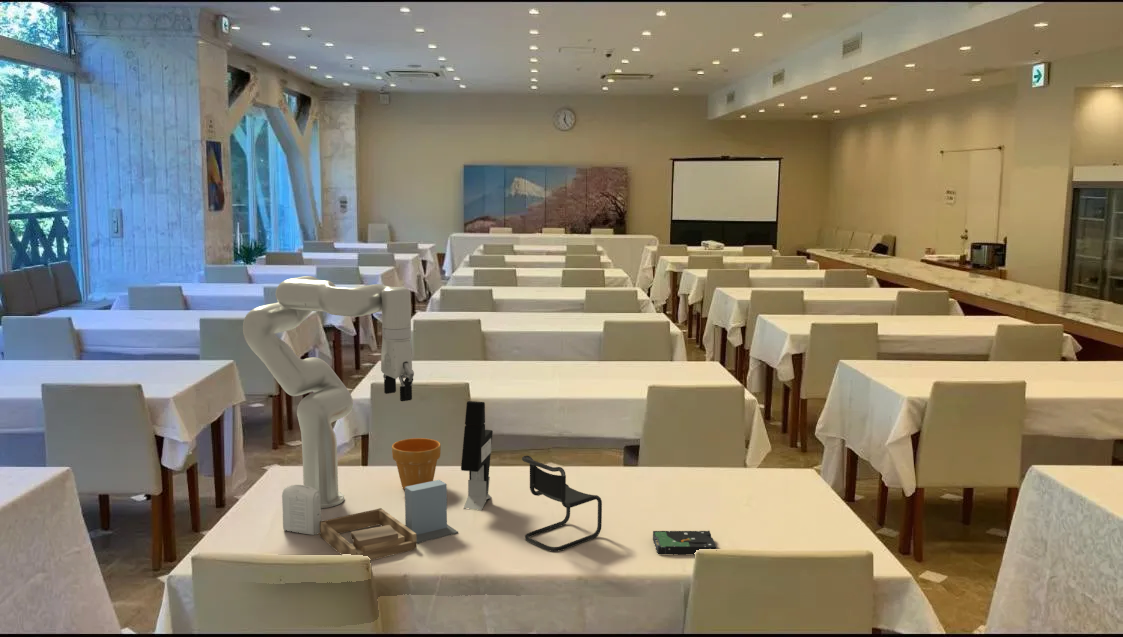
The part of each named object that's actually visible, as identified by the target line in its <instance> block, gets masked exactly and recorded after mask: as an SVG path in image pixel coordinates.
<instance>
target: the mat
mask: <svg viewBox="0 0 1123 637" xmlns="http://www.w3.org/2000/svg"><path fill="white" fill-rule="evenodd" d="M404 525H405V526H406V524H404ZM457 534H459V531H458V530H456V529H455V528H454V527H452V526H451V525H449V524H447V528H443V529H439V530H435V531H431V532H426V533H422V534H418V535H416V540H417V544H420V543H424V542H428V541H433V540H437V539H441V538H444V537H448V536H452V535H457Z"/></svg>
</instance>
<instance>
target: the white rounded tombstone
mask: <svg viewBox="0 0 1123 637" xmlns="http://www.w3.org/2000/svg"><path fill="white" fill-rule="evenodd" d="M281 493H282V494H281V499H282V500H281V501H282V502H281V503H282V505H281V506H282V529H283V531H286V530H287V531H286V532H291V531H292V533H298V532H299V534H305V535H311V536H315V535H314V534H316V535H318V534H320V521H322V508H321V497H320V492H319V491H318V490H316V489H314V488H312V487H309V486H304V484H291V485H287V486H285V487H283V489H282V492H281Z"/></svg>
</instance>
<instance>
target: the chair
mask: <svg viewBox="0 0 1123 637" xmlns="http://www.w3.org/2000/svg"><path fill="white" fill-rule="evenodd" d="M521 460H522V461H523V462H524V463H527V464H529V490H530V493H531V494H532V495H534V496H537V497H539V496H542V495H543V496H544V497H546V498H549V499H551V500H553V501H556V502H560V503H561V504H562V506H563V508H565V509H566V512H565V517H564V519H563V520H561V521H558V522H556V523H553V524H550V525H546V526H544V527H540V528H538V529H536V530H535V529H534V530H532V531H530V532H529V531H528V532H527V533H526V534H525V535H524V539H525V541H527V542H528V543H530V544H533V545H534V546H537V547H538V548H539V547H540V548H541V549H543V548H544V549H543V550H545V549H546V551H548V550H551V551H550V552H559V551H558V550H561V551H563V549H564V550H566V549H569V548H571V546H572V547H574V546H576V545H579V544H581V543H584V542H587V541H590V540H593V539H596V538H597V537H598V536H599V534H600V532H601V530H602V526H603V525H602V524H603V523H602V522H603V516H602V513H603V511H602V510H603V501H602V498H601V497H600V496H599V495H596V494H590V493H589V494H588V493H585V492H581V491H578V490H576V489H574V488H572V487H570V486H569V485H568V484H567V483H566V482H567V474H566V470H565V469H564V468H563V467H561V466H556V467H555V466H550V465H547V464H544V463H541V462H540V461H539V462H538V461H536V460H534V459H533V458H532V457H531V455H523V456H522V457H521ZM542 469H543V470H542ZM544 470H546V471H550V472H552V473H549V472H546V471H544ZM553 472H560V475H559V474H553ZM594 500H596V501H597V524H596V525H597V526H596V530H595V531H594V533H592V534H589V535H587V536H584V537H581V538H578V539H576V540H572V541H569V542H568V543H565V544H563V545H560V546H559V545H558V546H549V545H547V544H544V543H542V542H540V541H538V540H536V539H533V538H531V537H533V536H536V535H539V534H542V533H545V532H547V530H548V531H550V530H553V529H555V527H556V528H559V527H562V526H564V525H565V524H567V523H568V521H569V519H570V517H571V508H574V507H577V506H580V505H583V504H586V503H589V502H592V501H594ZM561 525H562V526H561ZM544 531H545V532H544Z"/></svg>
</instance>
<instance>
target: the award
mask: <svg viewBox="0 0 1123 637" xmlns="http://www.w3.org/2000/svg"><path fill="white" fill-rule="evenodd" d="M465 408H466V409H465V420H464V425H465V426H464V431H463V432H464V433H463V440H462V441H463V443H462V453H461V462H460V463H461V465H460V471H461V472H462V471H463V472H468V473H469V474H468V475H469V478H468V479H467V484H468V485H467V497H466V501H465V503H464V505H463V509H464V508H469V509H468V510H470V509H478V510H477V511H482V510H483V509H484V506H485V504H486V503H487V500H488V499H492V496H491V495H490V494H489V491H490V490H489V489H490V488H489V487H490V481H491V480H490V478H491V477H490V475H489V474H490V466H491V456H492V455H491V454H492V443H493V433H494V432H493V431H494V430H491V429H486V403H485V401H473V400H468V401H467V402H466V407H465Z"/></svg>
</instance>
